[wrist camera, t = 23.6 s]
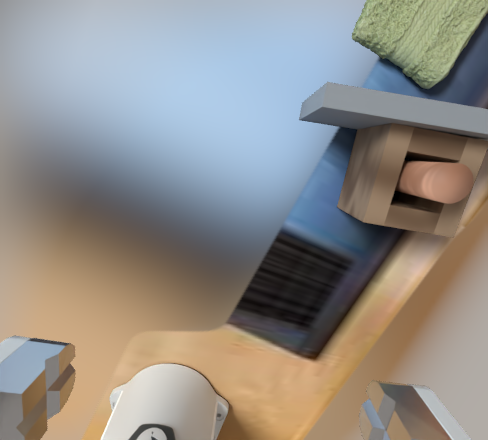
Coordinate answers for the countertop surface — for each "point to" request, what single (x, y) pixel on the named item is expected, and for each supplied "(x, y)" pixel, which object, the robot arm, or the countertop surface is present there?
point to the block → (388, 170)
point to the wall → (391, 111)
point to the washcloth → (419, 33)
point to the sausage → (435, 180)
